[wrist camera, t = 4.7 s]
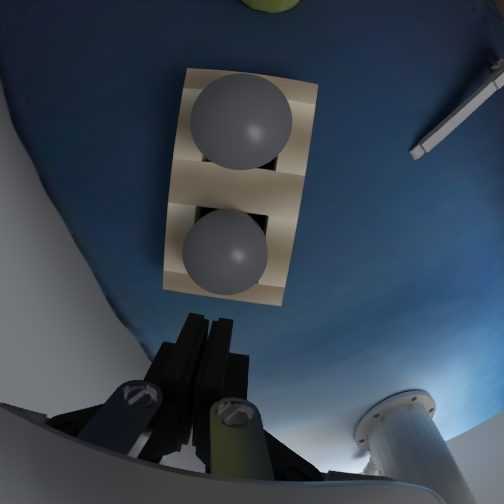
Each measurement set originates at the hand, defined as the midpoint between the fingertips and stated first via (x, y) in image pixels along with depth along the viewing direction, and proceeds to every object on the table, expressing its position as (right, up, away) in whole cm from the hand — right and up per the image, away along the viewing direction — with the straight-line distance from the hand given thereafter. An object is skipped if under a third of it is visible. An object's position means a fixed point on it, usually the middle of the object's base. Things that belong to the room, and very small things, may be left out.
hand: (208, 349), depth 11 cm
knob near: (+1, +13, +12) cm, 18 cm away
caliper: (+24, +20, +12) cm, 34 cm away
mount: (0, +10, +15) cm, 18 cm away
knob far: (0, +5, +16) cm, 17 cm away
